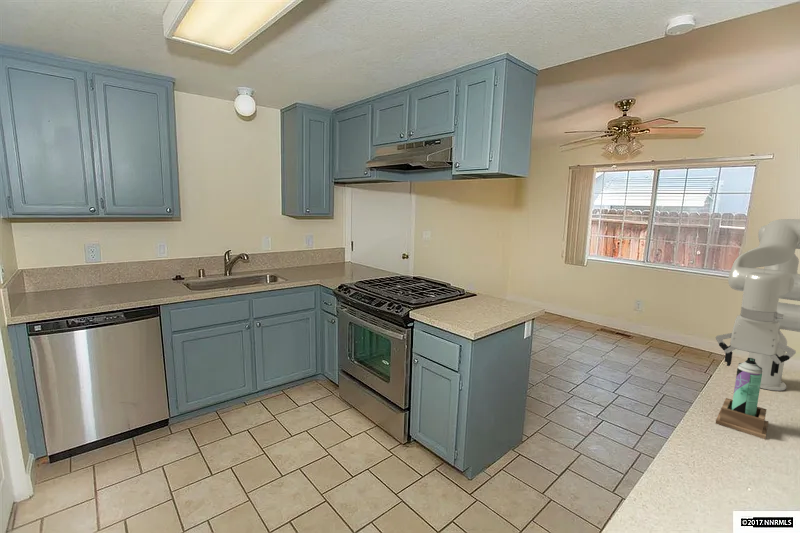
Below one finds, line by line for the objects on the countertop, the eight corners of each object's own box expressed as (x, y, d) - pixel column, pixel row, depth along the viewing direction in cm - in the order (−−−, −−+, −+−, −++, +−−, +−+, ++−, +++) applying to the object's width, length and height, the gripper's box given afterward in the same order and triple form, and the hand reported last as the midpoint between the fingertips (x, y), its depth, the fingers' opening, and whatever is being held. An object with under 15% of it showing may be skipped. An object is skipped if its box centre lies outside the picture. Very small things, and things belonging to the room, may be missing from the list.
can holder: (721, 410, 122) (723, 396, 121) (768, 424, 114) (770, 409, 113) (715, 423, 114) (717, 408, 114) (765, 439, 106) (767, 423, 106)
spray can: (744, 416, 116) (753, 355, 113) (759, 426, 111) (769, 362, 108) (725, 415, 117) (734, 354, 114) (739, 425, 112) (749, 361, 109)
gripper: (801, 318, 105) (791, 374, 108) (721, 306, 118) (714, 357, 120) (800, 324, 100) (790, 383, 103) (717, 311, 113) (710, 364, 116)
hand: (749, 369), depth 112 cm, fingers open, 9 cm apart
